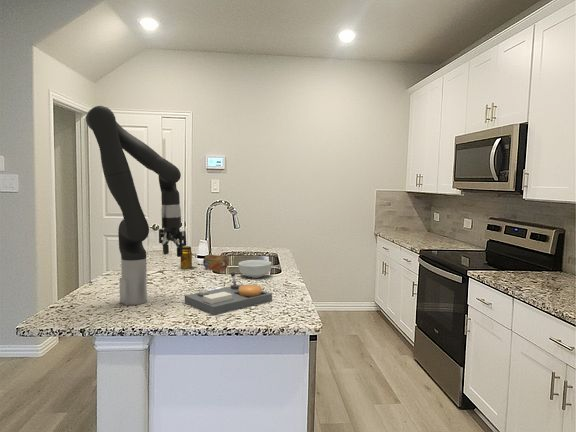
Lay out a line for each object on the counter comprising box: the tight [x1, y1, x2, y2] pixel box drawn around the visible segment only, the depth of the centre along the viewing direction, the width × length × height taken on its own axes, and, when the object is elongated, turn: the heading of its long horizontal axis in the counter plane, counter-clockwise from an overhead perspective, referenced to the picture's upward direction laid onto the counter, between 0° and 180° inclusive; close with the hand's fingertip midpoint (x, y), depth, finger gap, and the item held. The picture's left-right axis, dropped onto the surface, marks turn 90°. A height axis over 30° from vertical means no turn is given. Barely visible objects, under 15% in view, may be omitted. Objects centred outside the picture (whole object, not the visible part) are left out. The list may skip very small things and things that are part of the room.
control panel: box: [184, 284, 273, 316], centre depth 165 cm, size 28×20×4 cm
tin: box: [202, 254, 229, 272], centre depth 225 cm, size 15×3×8 cm, turn 62°
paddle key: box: [203, 292, 233, 304], centre depth 157 cm, size 10×5×2 cm, turn 134°
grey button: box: [198, 289, 209, 296], centre depth 164 cm, size 4×4×2 cm
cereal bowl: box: [238, 259, 273, 279], centre depth 212 cm, size 17×17×7 cm
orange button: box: [239, 284, 263, 296], centre depth 167 cm, size 9×9×2 cm
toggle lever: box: [230, 271, 237, 285], centre depth 175 cm, size 2×2×6 cm
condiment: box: [178, 245, 197, 271], centre depth 228 cm, size 7×8×12 cm
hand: (172, 255), depth 169 cm, fingers open, 8 cm apart
